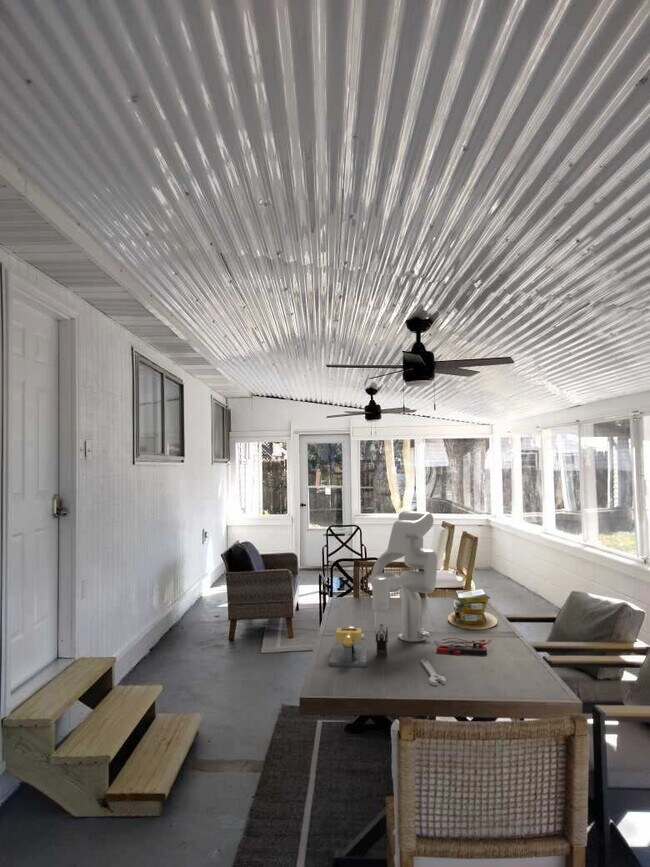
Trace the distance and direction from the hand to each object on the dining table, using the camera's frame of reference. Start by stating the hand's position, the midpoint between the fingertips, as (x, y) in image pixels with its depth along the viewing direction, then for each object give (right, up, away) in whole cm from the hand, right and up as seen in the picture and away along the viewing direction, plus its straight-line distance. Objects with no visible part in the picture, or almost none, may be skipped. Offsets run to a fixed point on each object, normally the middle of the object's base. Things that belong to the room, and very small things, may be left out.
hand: (381, 646), depth 237 cm
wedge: (0, -4, 0) cm, 4 cm away
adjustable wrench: (+18, -3, -21) cm, 28 cm away
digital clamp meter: (+38, -5, +11) cm, 40 cm away
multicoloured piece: (-14, -4, -1) cm, 15 cm away
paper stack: (+53, -8, +51) cm, 74 cm away
